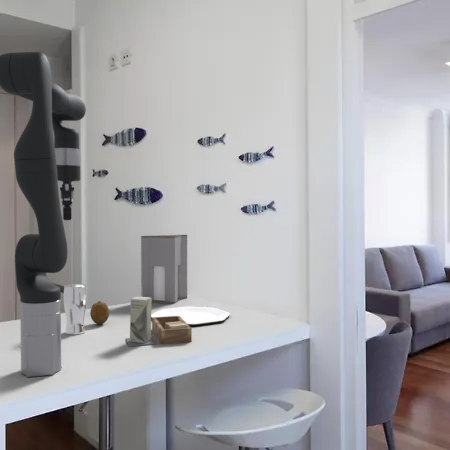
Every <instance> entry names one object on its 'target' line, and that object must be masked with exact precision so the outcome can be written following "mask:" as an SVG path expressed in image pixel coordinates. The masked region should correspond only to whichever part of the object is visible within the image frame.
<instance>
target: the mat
mask: <svg viewBox="0 0 450 450" xmlns="http://www.w3.org/2000/svg"><path fill="white" fill-rule="evenodd" d="M125 341H126V343H127V347H140V346H154V345H157V342H156V341H155V339H154V337H153V336H151V340H149V341H147V342H146V343H138V342H130V337H129V338H127V337H126V338H125Z"/></svg>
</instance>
